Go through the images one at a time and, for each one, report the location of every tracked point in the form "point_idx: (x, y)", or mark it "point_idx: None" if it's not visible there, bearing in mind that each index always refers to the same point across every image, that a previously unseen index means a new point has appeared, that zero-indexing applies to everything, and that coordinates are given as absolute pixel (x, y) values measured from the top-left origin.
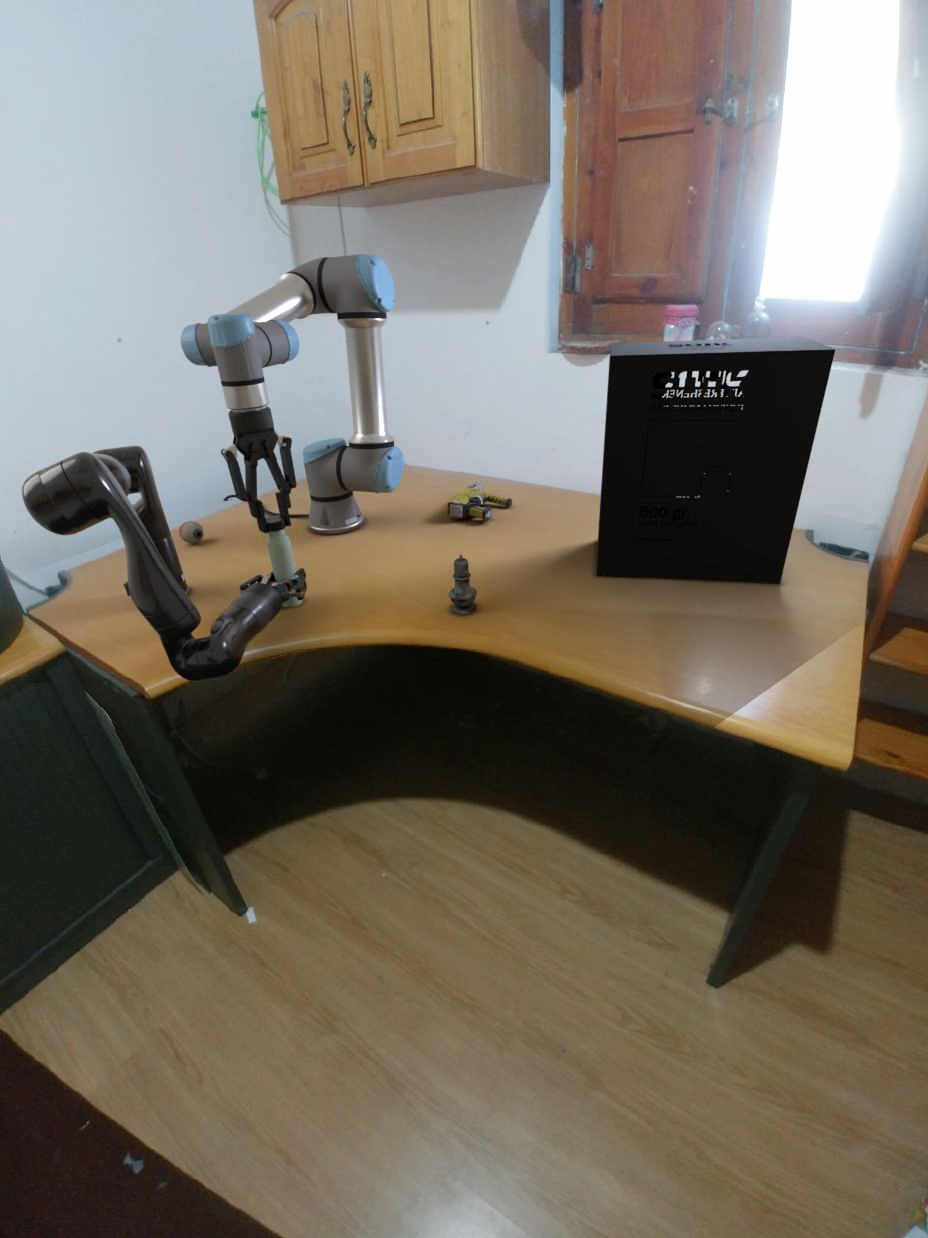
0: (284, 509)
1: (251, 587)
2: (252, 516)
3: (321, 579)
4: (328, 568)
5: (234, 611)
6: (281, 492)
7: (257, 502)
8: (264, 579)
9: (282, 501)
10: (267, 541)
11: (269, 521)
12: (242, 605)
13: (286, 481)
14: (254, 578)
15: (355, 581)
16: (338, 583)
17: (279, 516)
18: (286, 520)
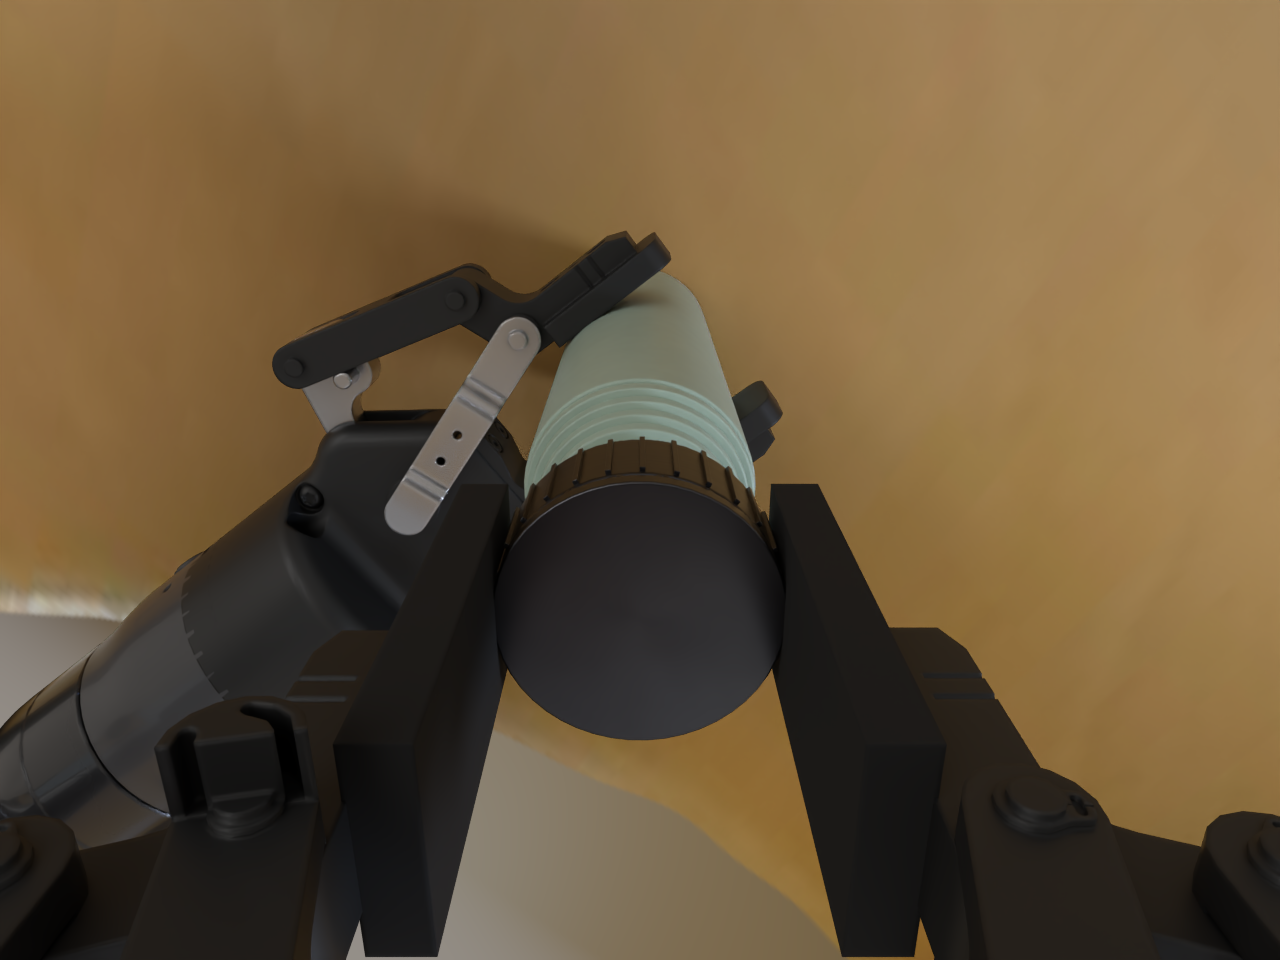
0: (798, 771)
1: (271, 652)
2: (339, 641)
3: (959, 177)
4: (1117, 38)
5: (97, 834)
6: (929, 876)
7: (364, 928)
8: (451, 435)
9: (819, 862)
10: (541, 452)
11: (558, 660)
12: (158, 800)
13: (1252, 958)
14: (412, 317)
15: (1071, 384)
16: (987, 326)
17: (743, 599)
18: (772, 668)
